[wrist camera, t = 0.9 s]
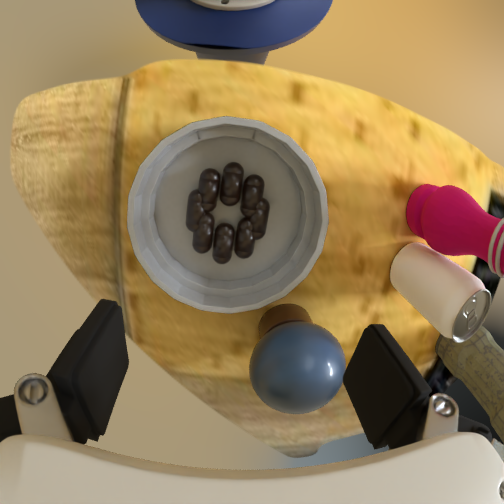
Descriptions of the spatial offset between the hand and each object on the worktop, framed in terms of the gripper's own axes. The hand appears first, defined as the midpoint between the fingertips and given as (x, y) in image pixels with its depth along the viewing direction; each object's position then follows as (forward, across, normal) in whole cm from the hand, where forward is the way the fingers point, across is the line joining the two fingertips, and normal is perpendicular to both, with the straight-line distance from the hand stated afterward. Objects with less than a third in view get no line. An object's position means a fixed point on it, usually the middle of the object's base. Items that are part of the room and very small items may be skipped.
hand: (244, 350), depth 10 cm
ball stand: (+17, -7, +11) cm, 21 cm away
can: (+17, -21, +2) cm, 27 cm away
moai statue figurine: (+17, -38, +13) cm, 44 cm away
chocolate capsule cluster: (+17, +1, -1) cm, 17 cm away
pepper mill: (+18, -21, -5) cm, 28 cm away
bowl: (+17, +1, -1) cm, 17 cm away
